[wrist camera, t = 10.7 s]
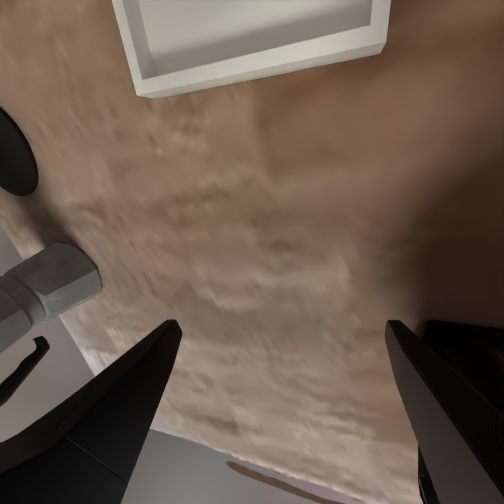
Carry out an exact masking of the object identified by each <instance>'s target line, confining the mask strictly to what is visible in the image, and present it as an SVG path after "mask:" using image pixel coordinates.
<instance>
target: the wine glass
mask: <svg viewBox="0 0 504 504" xmlns="http://www.w3.org/2000/svg"><path fill="white" fill-rule="evenodd" d="M37 183H38V171H37V165H36V162H35V158H34V155H33V153H32V150H31V148H30V146H29V144H28V142H27V140H26V138H25V137H24V135H23V134H22V132H21V131H20V129H19V128H18V126H17V125H16V124H15V123H14V121H13V120H12V119H11V118H10V117H9V116H8V115H7V114H6V113H5V112H4V111H3V110H2V109H0V187H2V188H3V189H5V190H6V191H8V192H10V193H12V194H15V195H19V196H25V195H29V194H31V193H32V192H34V190H35V189H36V186H37Z"/></svg>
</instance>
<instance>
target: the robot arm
mask: <svg viewBox="0 0 504 504" xmlns="http://www.w3.org/2000/svg"><path fill="white" fill-rule="evenodd" d="M432 326H435V327H433V328H431V327H432ZM181 338H182V330H181V328H180V326H179V324H178V322H177V321H176V320H174V319H169V320H166V321H165V322H163V323H162V324H161V325H160V326H158V327H157V328H156V329H155V330H153V331H152V332H151V333H150V334H148V335H147V336H146V337H145V338H143V339H142V340H141V341H140V342H138V343H137V344H136V345H135V346H133V347H132V348H131V349H130V350H128V351H127V352H126V353H125V354H123V355H122V356H121V357H120V358H118V359H117V360H116V361H115V362H113V363H112V364H111V365H109V366H108V367H107V368H106V369H104V370H103V371H102V372H101V373H99V374H98V375H97V376H96V377H95V378H93V379H92V380H91V381H89V382H88V383H87V384H86V385H84V386H83V387H82V388H80V389H79V390H78V391H77V392H75V393H74V394H73V395H71V396H70V397H69V398H67V399H66V400H65V401H63V402H62V403H61V404H59V405H58V406H57V407H55V408H54V409H52V410H51V411H50V412H48V413H47V414H45V415H44V416H42V417H41V418H40V419H38V420H37V421H35V422H34V423H33V424H31V425H30V426H29V427H27V428H26V429H24V430H23V431H21V432H20V433H19V434H17V435H15V436H14V437H12V438H10V439H8V440H6V441H4V442H1V443H0V504H121V501H122V499H123V496H124V493H125V491H126V488H127V485H128V482H129V480H130V477H131V475H132V472H133V470H134V467H135V465H136V462H137V460H138V457H139V454H140V452H141V449H142V447H143V444H144V441H145V439H146V436H147V434H148V431H149V428H150V426H151V423H152V421H153V418H154V416H155V413H156V410H157V408H158V405H159V403H160V400H161V397H162V395H163V392H164V390H165V387H166V384H167V382H168V379H169V377H170V374H171V371H172V369H173V366H174V362H175V359H176V355H177V352H178V348H179V345H180V341H181ZM385 341H386V345H387V349H388V353H389V357H390V361H391V365H392V370H393V374H394V377H395V381H396V384H397V387H398V390H399V393H400V395H401V398H402V401H403V404H404V406H405V409H406V412H407V415H408V417H409V420H410V423H411V425H412V428H413V431H414V434H415V436H416V439H417V442H418V483H419V490H420V496H421V499H422V501H423V504H504V329H496V328H488V327H480V326H472V325H464V324H456V323H448V322H440V321H428V322H426V323H425V325H424V329H423V332H422V336H421V339H420V338H419V337H418V336H416V335H415V334H414V333H413V332H412V331H411V330H410V329H409V328H408V327H407V326H406V325H405V324H403V323H402V322H401V321H400V320H388V321H387V322H386V329H385Z"/></svg>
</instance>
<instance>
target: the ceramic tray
mask: <svg viewBox="0 0 504 504" xmlns="http://www.w3.org/2000/svg"><path fill="white" fill-rule="evenodd" d="M112 3H113V7H114V10H115V14H116V18H117V22H118V26H119V29H120V33H121V37H122V41H123V45H124V48H125V52H126V56H127V60H128V63H129V67H130V71H131V75H132V79H133V82H134V86H135V90H136V94H137V96H143V97H149V98H154V99H159V98H164V97H169V96H174V95H179V94H184V93H189V92H194V91H199V90H204V89H209V88H214V87H219V86H224V85H229V84H234V83H239V82H244V81H248V80H253V79H258V78H263V77H268V76H273V75H278V74H283V73H288V72H293V71H298V70H303V69H308V68H313V67H318V66H323V65H328V64H333V63H338V62H343V61H348V60H353V59H358V58H363V57H367V56H372V55H377V54H380V53H381V51H382V49H383V47H384V45H385V43H386V39H387V30H388V22H389V13H390V4H391V0H112Z"/></svg>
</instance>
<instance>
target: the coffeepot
mask: <svg viewBox="0 0 504 504" xmlns="http://www.w3.org/2000/svg"><path fill="white" fill-rule="evenodd" d="M101 291H102V279H101V276H100V273H99V271H98V269H97V268H96V266H95V265H94V263H93V262H92V261H91V259H90V258H89V257H88V256H87V255H86V254H85V253H83V252H82V251H81V250H80V249H78V248H76V247H75V246H73V245H70V244H67V243H59V242H55V243H54V244H52V245H50V246H49V247H47V248H45V249H44V250H42V251H40V252H39V253H37V254H35V255H34V256H32V257H30V258H29V259H27V260H25V261H24V262H22V263H20V264H18V265H17V266H15V267H13V268H12V269H10V270H8V272H6V273H5V274H4V276H1V277H0V355H1V354H2V353H4V352H5V351H6V350H7V349H8V348H10V347H11V346H12V345H14V344H15V343H16V342H17V341H18V340H20V339H21V338H22V337H23V336H25V335H26V334H27V333H28V332H29V331H30V330H31V329H32V327H34V326H35V325H37V324H39V323H40V322H41V321H46V320H48V319H50V318H52V317H55V316H57V315H59V314H61V313H63V312H65V311H67V310H69V309H71V308H73V307H75V306H78V305H80V304H82V303H84V302H86V301H88V300H90V299H92V298H93V297H95V296H96V295H97V294H98V293H99V292H101ZM33 340H34V341H35V343H36V347H37V348H36V350H35V351H34V352H33V353H32V354H30V355H29V356H27V357H26V358H25V359H24V360H23V361H22V362H21V363H20V365H19V366H18V368H17V369H16V370H15V371H14V372H13V373H12V374H11V375H10V376H9V377H7V378H6V379H5V380H4V381H3V382H2V383H1V384H0V406H2V405H3V404H4V403H6V402H7V401H8V399H9V398H10V397H11V396H12V395H13V393H14V392H15V391H16V389H17V388H18V387H19V386H20V384H21V383H22V382H23V381H24V379H25V378H26V377H27V376H28V375H29V374H30V372H31V371H32V370H33V369H34V367H35V366H36V365H37V364H38V362H39V361H40V360H41V359H42V358H43V356H44V355H45V354H46V352H47V351H48V350H49V348H50V346H49V344H48V342H47V340H46V339H45V338H44V337H43V336H40V337H36V338H34V339H33Z"/></svg>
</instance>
